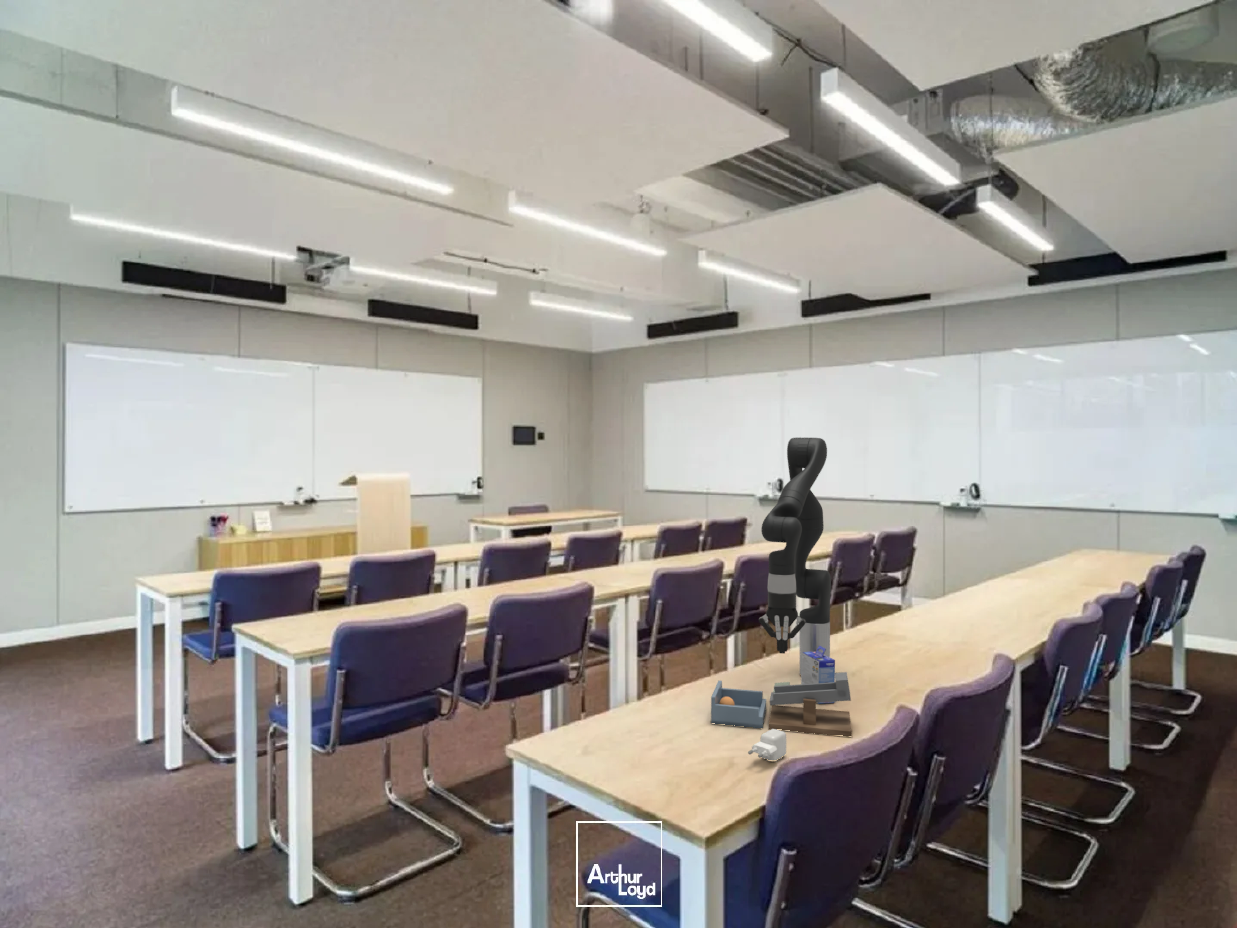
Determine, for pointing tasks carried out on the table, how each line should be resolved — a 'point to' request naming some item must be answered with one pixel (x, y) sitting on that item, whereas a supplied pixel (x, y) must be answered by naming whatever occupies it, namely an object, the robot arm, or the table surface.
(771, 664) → the table surface
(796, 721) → the lever stand
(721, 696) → the bin
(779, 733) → the power adapter
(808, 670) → the ink cartridge box
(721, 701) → the ball
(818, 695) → the lever
